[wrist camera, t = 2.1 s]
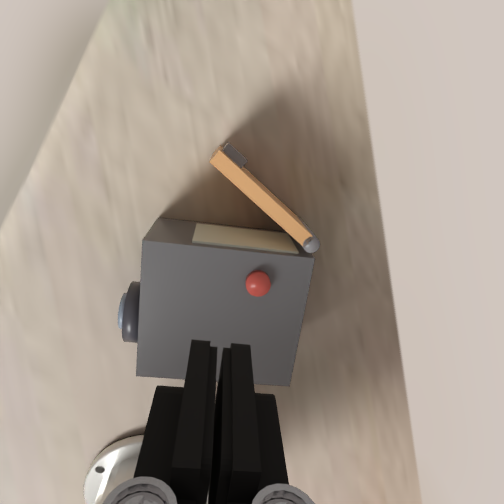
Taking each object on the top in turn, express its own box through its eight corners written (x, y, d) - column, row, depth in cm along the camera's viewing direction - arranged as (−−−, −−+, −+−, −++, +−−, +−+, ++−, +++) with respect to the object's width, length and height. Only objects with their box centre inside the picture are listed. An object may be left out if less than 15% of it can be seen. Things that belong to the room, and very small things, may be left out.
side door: (295, 232, 30) (311, 256, 24) (211, 155, 27) (208, 163, 22) (309, 217, 29) (328, 238, 24) (225, 138, 27) (226, 142, 22)
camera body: (278, 341, 33) (290, 391, 27) (131, 329, 32) (108, 379, 26) (298, 231, 30) (317, 259, 24) (135, 213, 29) (111, 237, 22)
